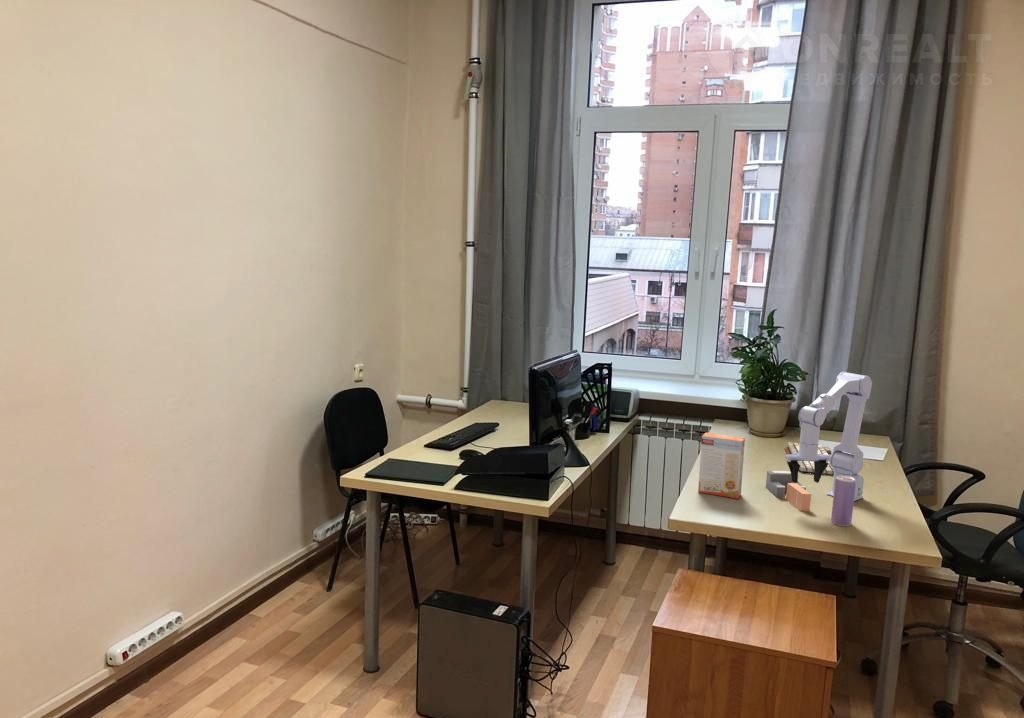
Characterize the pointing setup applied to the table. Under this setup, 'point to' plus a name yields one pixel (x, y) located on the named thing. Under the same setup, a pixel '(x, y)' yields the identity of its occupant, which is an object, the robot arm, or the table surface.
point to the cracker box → (721, 465)
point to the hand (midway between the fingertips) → (805, 481)
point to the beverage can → (843, 500)
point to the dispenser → (779, 482)
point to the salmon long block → (798, 496)
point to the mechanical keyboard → (809, 465)
